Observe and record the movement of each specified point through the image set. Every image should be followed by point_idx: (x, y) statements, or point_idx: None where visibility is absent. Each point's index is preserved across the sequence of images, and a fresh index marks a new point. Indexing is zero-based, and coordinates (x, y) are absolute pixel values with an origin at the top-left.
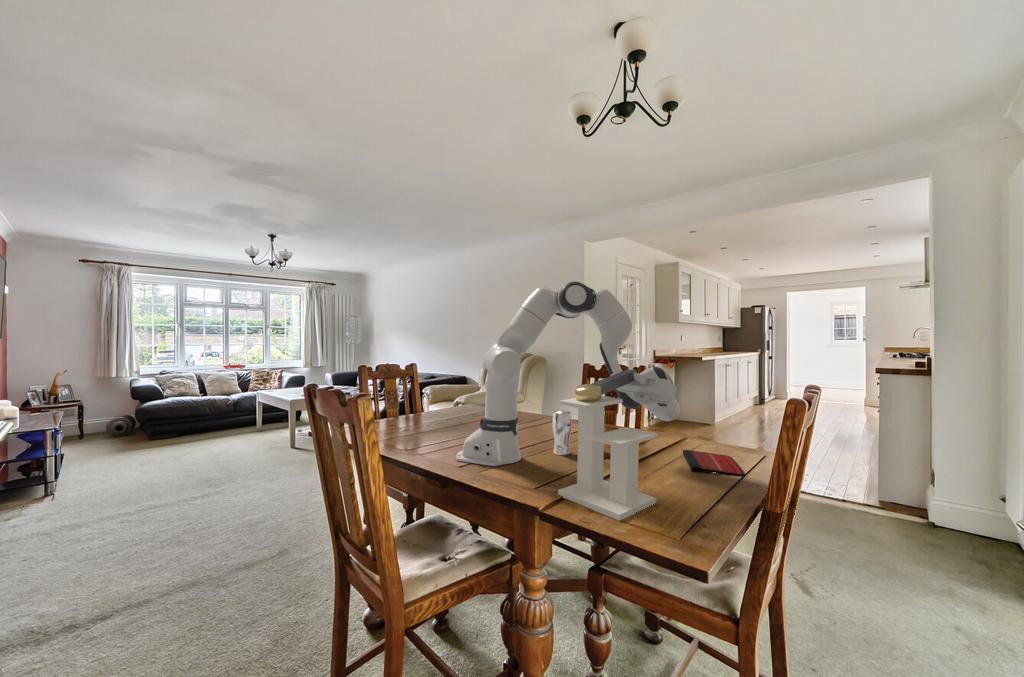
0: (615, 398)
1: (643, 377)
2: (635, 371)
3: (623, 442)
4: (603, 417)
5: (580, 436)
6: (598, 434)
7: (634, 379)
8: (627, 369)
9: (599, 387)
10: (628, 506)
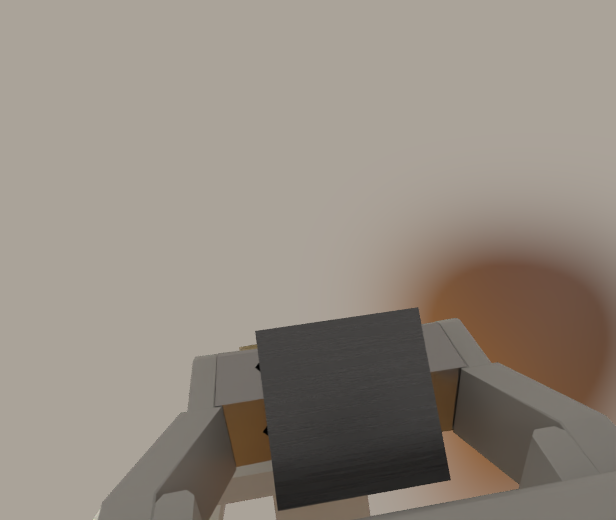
0: (259, 465)
1: (138, 480)
2: (258, 349)
3: (97, 516)
4: (276, 512)
5: None
6: (219, 505)
7: (252, 450)
8: (408, 309)
9: (245, 346)
10: None
